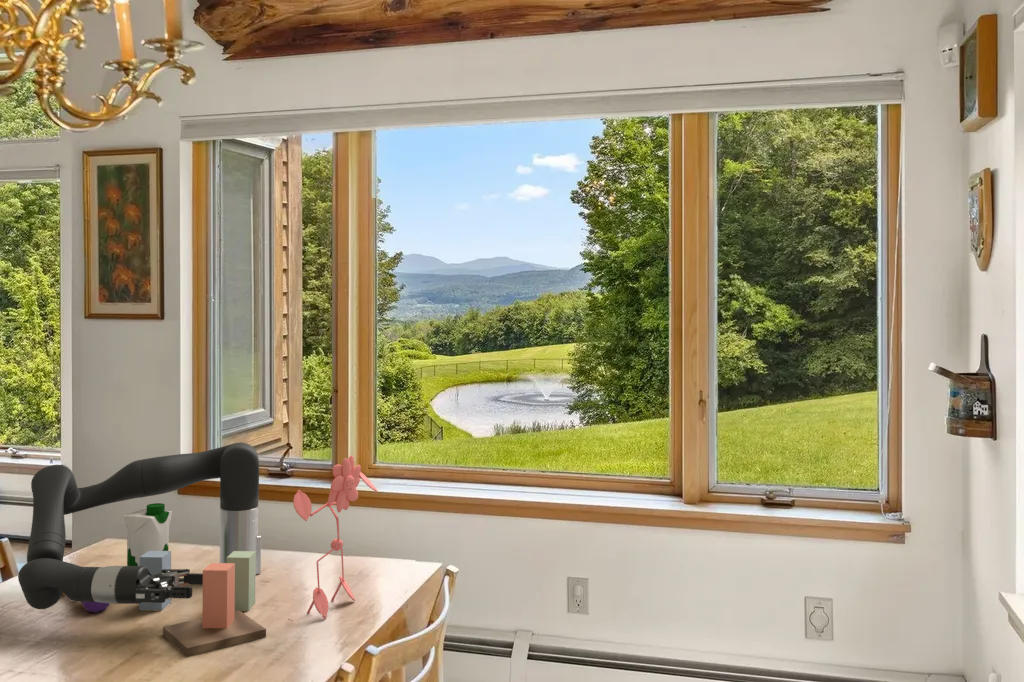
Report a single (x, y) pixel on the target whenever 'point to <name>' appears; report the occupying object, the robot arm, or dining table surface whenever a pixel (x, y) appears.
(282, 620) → the dining table surface
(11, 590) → the dining table surface
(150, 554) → the blue grey block
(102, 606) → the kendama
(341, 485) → the figurine
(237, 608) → the olive block
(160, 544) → the milk carton
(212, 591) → the red block
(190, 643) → the walnut board
